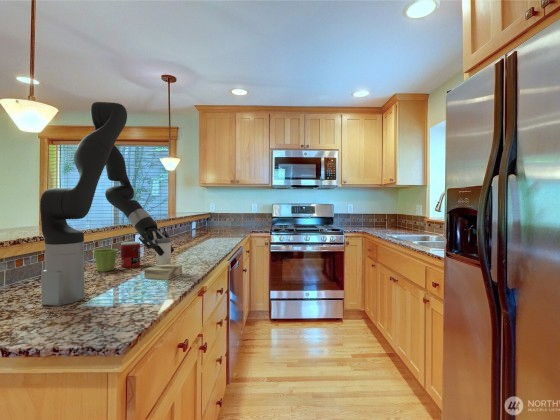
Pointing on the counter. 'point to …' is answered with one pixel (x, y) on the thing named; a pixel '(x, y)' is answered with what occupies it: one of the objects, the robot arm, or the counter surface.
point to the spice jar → (166, 247)
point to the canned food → (130, 254)
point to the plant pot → (105, 259)
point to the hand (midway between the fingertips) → (167, 253)
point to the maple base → (163, 271)
